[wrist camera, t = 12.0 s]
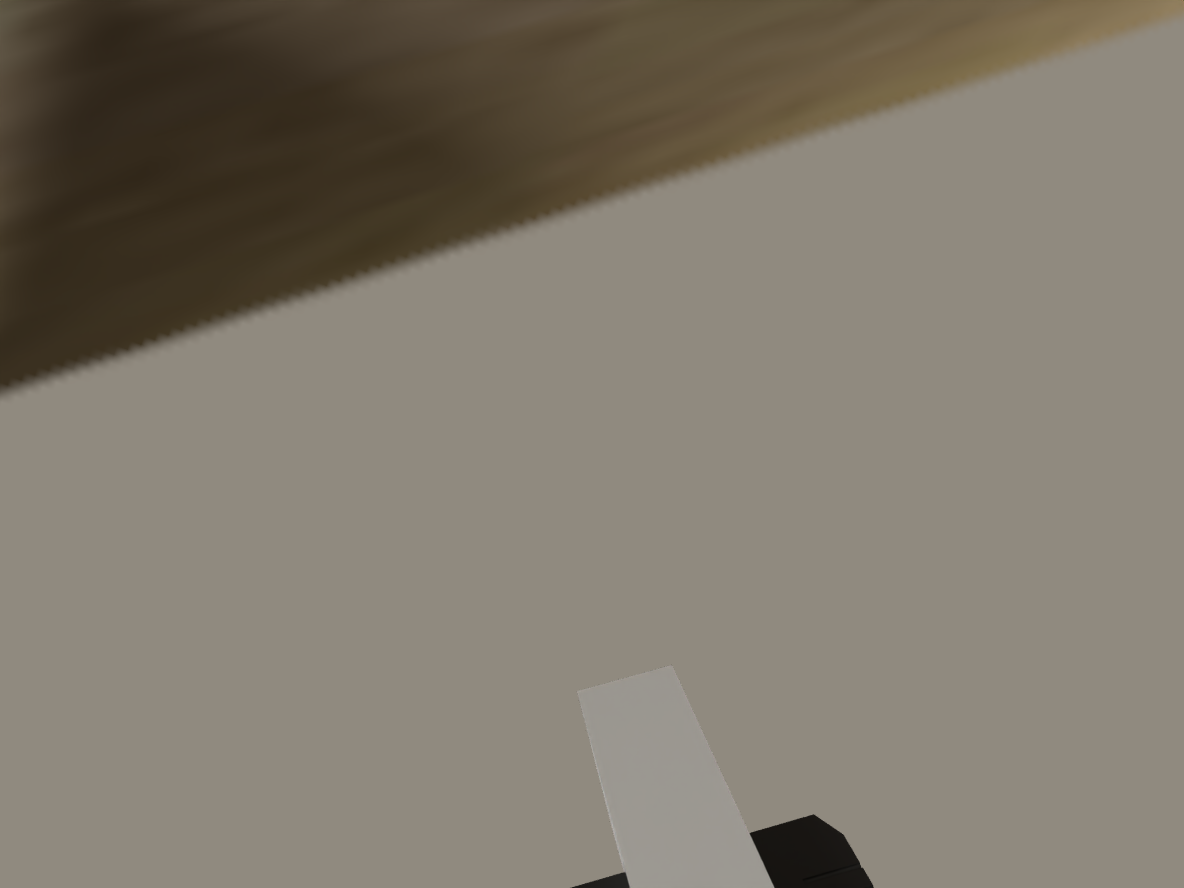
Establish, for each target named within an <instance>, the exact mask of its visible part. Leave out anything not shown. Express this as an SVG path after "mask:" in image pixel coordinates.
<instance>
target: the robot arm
mask: <svg viewBox="0 0 1184 888" xmlns="http://www.w3.org/2000/svg"><path fill="white" fill-rule="evenodd" d="M577 694H578V698H579V701H580V705H581V709H582V713H583V717H584V721H585V724H586V728H587V732H588V736H589V740H590V744H591V748H592V752H593V755H594V760H595V763H596V767H597V771H598V775H599V779H600V783H601V787H602V790H603V795H604V798H605V802H606V806H607V810H608V814H609V818H610V821H611V825H612V829H613V833H614V837H615V841H616V845H617V848H618V852H619V856H620V860H621V863H622V866H623V870H624V873H620V874H616V875H613V876H610V877H606V878H603V879H599V880H596V881H593V882H589V883H585V884H582V885H579V886H575V887H572V888H874V887H873V885H872V883H871V881H870V879H869V877H868V876H867V874H866V872H865V871H864V869H863V868H861V865H860V862H859V860H858V859H857V857H856V855H855V854H854V852H853V850H852V848H851V847H850V845H849V844H848V842H847V840H846V838H845V837H844V835H843V834H842V833H840V832H839V831H837V830H836V829H834V828H833V827H832V826H830V825H829V824H827V823H825V822H824V821H823V820H821V819H820V818H818V817H817V816H815V815H810V816H807V817H803V818H800V819H796V820H793V821H790V822H786V823H783V824H779V825H776V826H772V827H769V828H765V829H762V830H758V831H755V832H751V833H749V831H748V829H747V827H746V825H745V823H744V821H743V818H742V816H741V814H740V812H739V810H738V808H737V805H736V803H735V801H734V799H733V797H732V794H731V792H730V790H729V788H728V786H727V784H726V781H725V779H724V777H723V775H722V773H721V771H720V769H719V766H718V764H717V762H716V759H715V758H714V755H713V753H712V751H711V749H710V746H709V744H708V742H707V740H706V738H705V735H704V733H703V731H702V729H701V727H700V725H699V722H698V720H697V718H696V716H695V714H694V712H693V709H692V707H691V705H690V703H689V701H688V698H687V696H686V694H685V692H684V690H683V688H682V685H681V683H680V681H679V679H678V677H677V674H676V672H675V670H674V668H673V666H672V665H670V666H666V667H662V668H659V669H655V670H651V671H648V672H644V673H641V674H637V675H634V676H630V677H626V678H622V679H619V680H616V681H612V682H608V683H605V684H601V685H597V686H594V687H590V688H587V689H583V690H579V691H577Z"/></svg>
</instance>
